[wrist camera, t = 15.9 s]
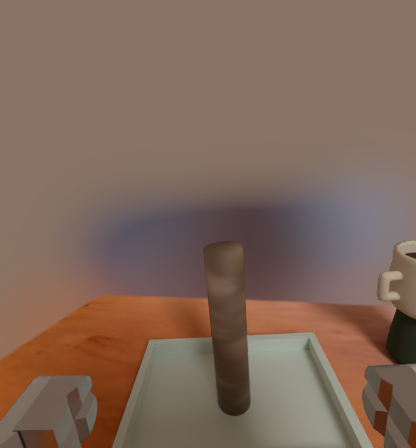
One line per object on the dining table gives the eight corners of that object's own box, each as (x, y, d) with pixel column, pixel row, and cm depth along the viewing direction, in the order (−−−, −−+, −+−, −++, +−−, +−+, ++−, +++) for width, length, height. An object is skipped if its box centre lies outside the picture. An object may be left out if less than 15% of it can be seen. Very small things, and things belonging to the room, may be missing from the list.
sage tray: (108, 498, 20) (101, 476, 19) (152, 356, 33) (149, 339, 32) (381, 495, 19) (385, 471, 18) (312, 349, 32) (313, 332, 31)
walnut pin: (217, 416, 24) (202, 257, 20) (217, 386, 27) (204, 242, 23) (252, 415, 24) (244, 254, 20) (248, 385, 27) (240, 240, 23)
